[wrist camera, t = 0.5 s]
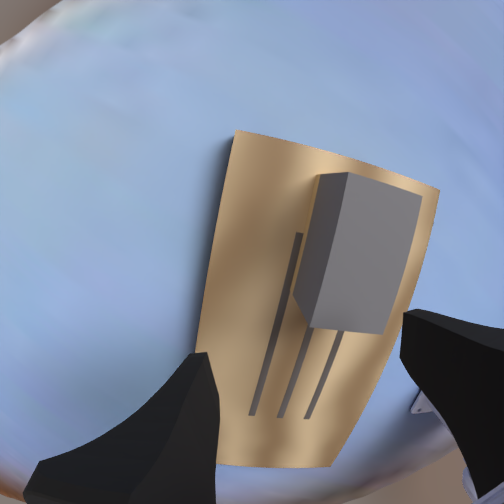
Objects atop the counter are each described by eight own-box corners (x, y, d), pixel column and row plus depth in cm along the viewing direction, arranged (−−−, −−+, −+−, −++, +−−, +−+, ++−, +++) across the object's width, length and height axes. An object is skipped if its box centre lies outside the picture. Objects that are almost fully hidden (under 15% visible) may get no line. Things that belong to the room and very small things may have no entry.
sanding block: (376, 191, 17) (422, 196, 12) (349, 299, 19) (382, 334, 14) (316, 174, 17) (348, 171, 12) (289, 289, 18) (309, 326, 13)
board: (428, 188, 19) (440, 190, 17) (326, 456, 24) (330, 466, 23) (235, 133, 17) (235, 129, 16) (183, 446, 23) (181, 458, 21)
